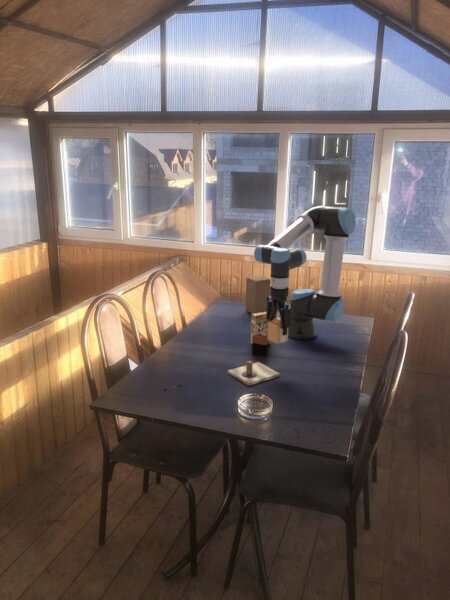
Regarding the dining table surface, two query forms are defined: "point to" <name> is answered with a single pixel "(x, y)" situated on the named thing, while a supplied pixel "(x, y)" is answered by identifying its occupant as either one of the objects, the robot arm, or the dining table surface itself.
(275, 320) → the tan toy brick
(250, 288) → the wooden block
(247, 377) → the birch board
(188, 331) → the dining table surface
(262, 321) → the candy box
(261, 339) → the battery
